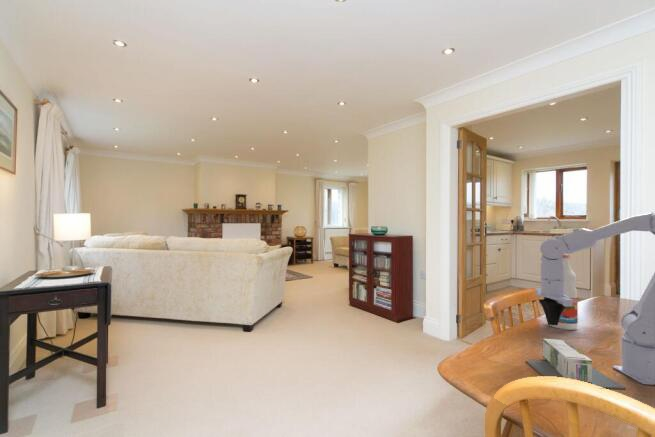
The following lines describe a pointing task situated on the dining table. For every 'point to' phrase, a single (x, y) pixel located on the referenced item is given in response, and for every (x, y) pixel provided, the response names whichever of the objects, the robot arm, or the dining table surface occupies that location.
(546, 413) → the dining table surface
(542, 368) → the slate mat
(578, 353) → the syrup box
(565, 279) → the fruit juice
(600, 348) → the dining table surface
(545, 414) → the dining table surface
